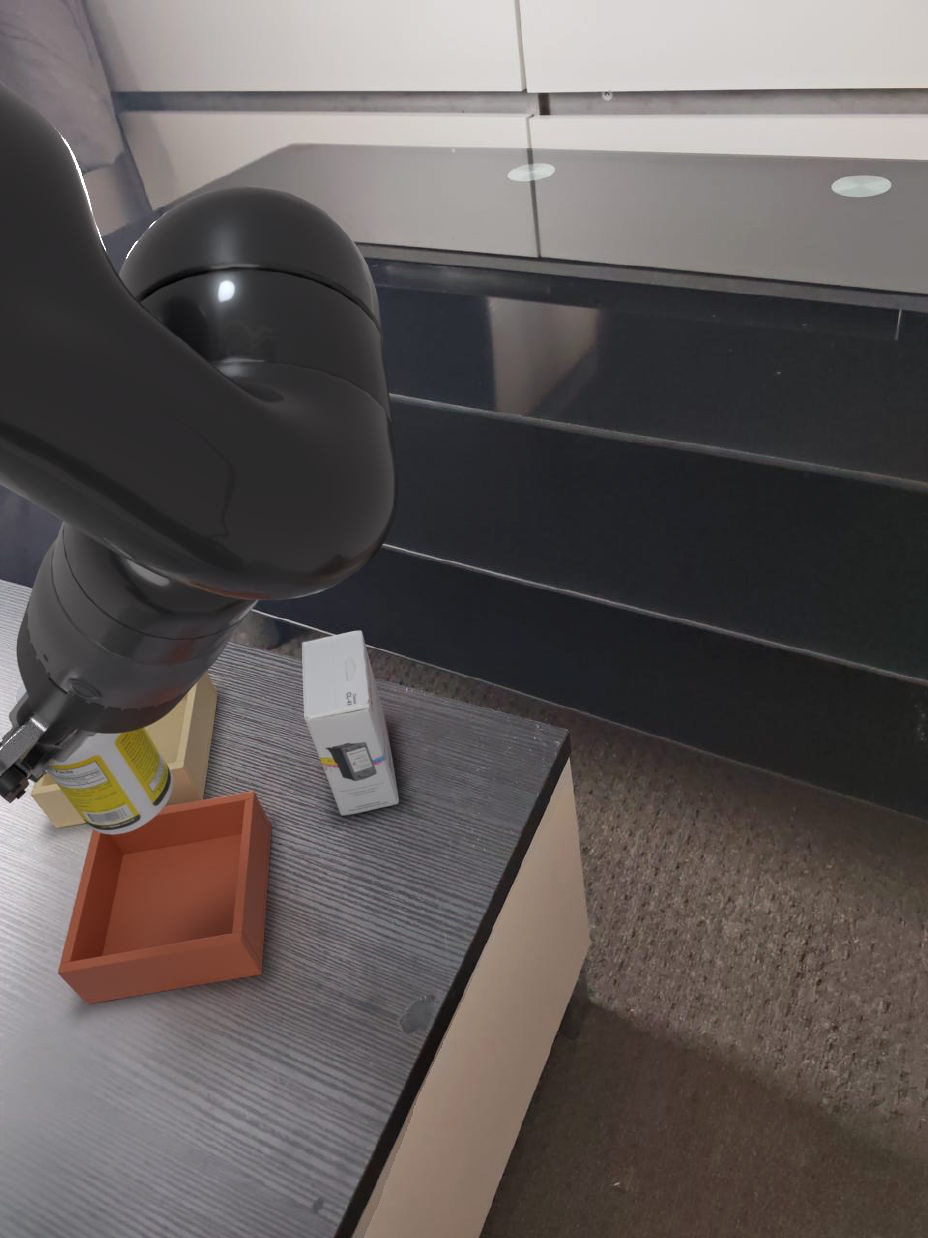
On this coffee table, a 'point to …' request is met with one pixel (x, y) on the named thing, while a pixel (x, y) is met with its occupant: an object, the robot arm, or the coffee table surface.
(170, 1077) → the coffee table surface
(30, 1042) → the coffee table surface
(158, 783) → the supplement bottle
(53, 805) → the cream bin
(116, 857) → the terracotta bin
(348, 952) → the coffee table surface
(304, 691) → the ink box
